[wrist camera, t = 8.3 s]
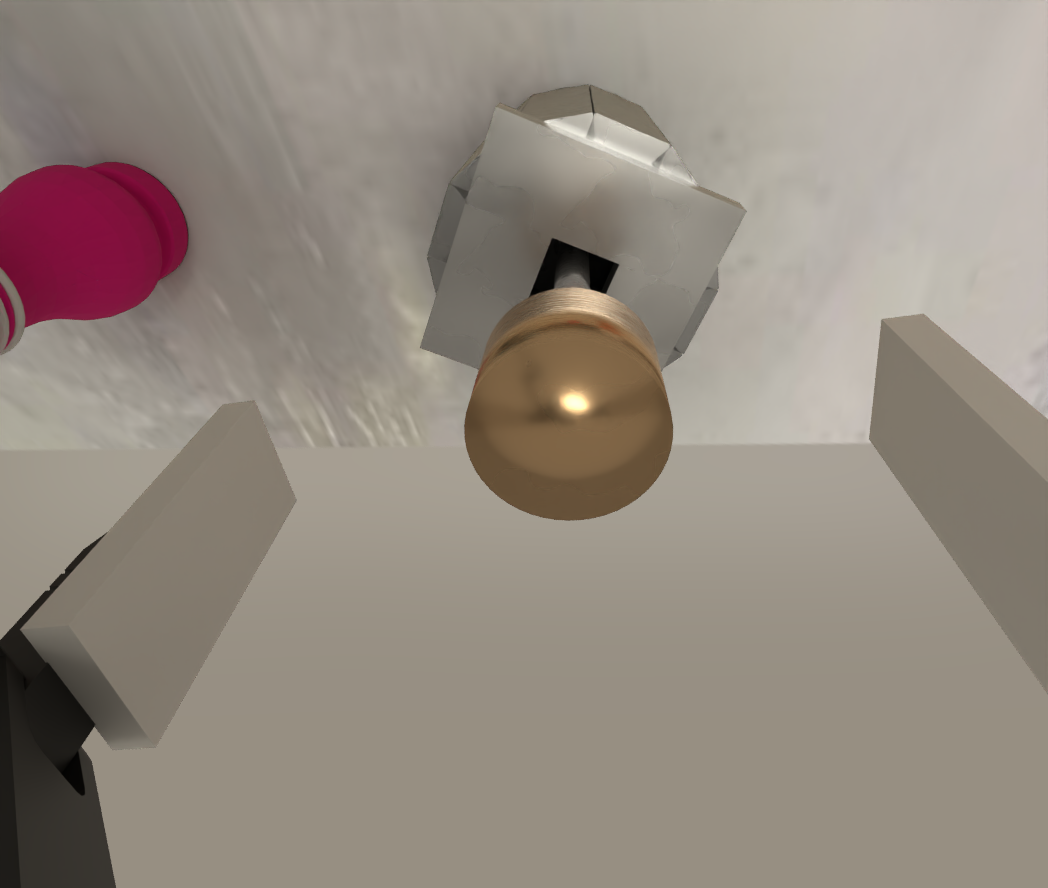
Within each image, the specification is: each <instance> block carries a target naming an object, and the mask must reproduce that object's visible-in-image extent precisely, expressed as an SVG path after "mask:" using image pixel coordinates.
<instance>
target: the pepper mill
mask: <svg viewBox="0 0 1048 888" xmlns="http://www.w3.org/2000/svg"><path fill="white" fill-rule="evenodd" d="M187 243H188V232H187V226H186V222H185V219H184V216H183V213H182V211H181V209H180V207H179V205H178V203H177V201H176V200H175V199H174V197H173V196H172V195H171V193H170V192H169V191H168V190H167V189H166V187H165V186H164V185H163V184H161V183H160V182H159V181H158V180H156V179H155V178H154V177H153V176H151V175H150V174H148V173H146V172H145V171H143V170H141V169H139V168H137V167H134V166H132V165H129V164H124V163H118V162H105V163H101V164H96V165H93V166H90V167H86V168H83V167H79V166H74V165H53V166H46V167H43V168H40V169H38V170H35V171H33V172H30V173H28V174H26V175H23V176H21V177H19V178H17V179H16V180H15V181H13V182H12V183H11V184H10V185H9V186H7V187H6V188H5V189H4V190H3V191H2V192H1V193H0V355H2V354H4V353H6V352H8V351H10V350H11V349H12V348H14V347H15V346H16V345H17V343H18V342H19V341H20V339H21V337H22V335H23V332H24V328H25V327H28V326H30V325H33V324H35V323H38V322H41V321H46V320H52V319H73V320H94V319H100V318H106V317H112V316H114V315H117V314H119V313H122V312H124V311H127V310H129V309H131V308H133V307H135V306H137V305H139V304H140V303H141V302H142V301H144V300H145V299H146V298H147V297H148V296H149V295H150V294H151V292H152V291H153V290H154V288H155V286H156V284H157V282H158V280H160V279H161V278H163V277H165V276H166V275H168V274H170V273H171V272H173V271H174V270H175V269H176V268H177V267H178V266H179V265H180V263H181V262H182V260H183V258H184V256H185V253H186V250H187Z"/></svg>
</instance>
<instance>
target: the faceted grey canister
mask: <svg viewBox="0 0 1048 888" xmlns="http://www.w3.org/2000/svg"><path fill="white" fill-rule="evenodd" d="M746 212H747V211H746V210H745V209H744V208H743V206H742V205H741V204H740V203H738V202H736V201H734V200H731V199H729V198H727V197H724V196H722V195H719V194H717V193H715V192H712V191H710V190H707V189H705V188H703V187H700V186H699V185H698V184H697V182H696V181H695V179H694V178H693V176H692V175H691V173H690V172H689V170H688V169H687V167H686V166H685V164H684V163H683V161H682V160H681V158H680V157H679V155H678V154H677V152H676V151H675V149H674V148H673V146H672V145H671V144H670V143H669V141H668V140H667V139H666V137H665V136H664V135H663V133H662V132H661V131H660V130H659V128H658V127H657V126H656V124H655V123H654V122H653V121H652V119H651V118H650V117H649V115H648V114H647V113H646V111H645V110H644V109H643V108H642V107H641V106H639V105H637V104H634V103H632V102H630V101H627V100H625V99H623V98H621V97H620V96H618V95H616V94H613V93H610V92H607V91H604V90H602V89H599V88H597V87H595V86H592V85H590V86H589V85H582V86H577V87H567V88H560V89H556V90H552V91H548V92H544V93H539V94H533V96H530V97H529V98H528V99H527V100H526V101H525V102H524V103H523V104H522V105H521V106H520V107H519V108H517V109H514V108H511V107H509V106H506V105H504V104H502V103H499V104H498V105H497V106H496V108H495V111H494V114H493V117H492V120H491V123H490V127H489V130H488V133H487V136H486V139H485V140H484V141H483V143H482V144H481V145H480V146H479V147H478V149H477V150H476V151H475V152H474V153H473V155H472V156H471V157H470V158H469V159H468V161H467V162H466V163H465V164H464V165H463V167H462V168H461V169H460V170H459V171H458V173H457V174H456V175H455V176H454V177H453V179H452V180H451V181H450V183H449V184H448V188H447V191H446V194H445V198H444V201H443V204H442V208H441V211H440V215H439V218H438V221H437V225H436V228H435V231H434V235H433V238H432V241H431V245H430V248H429V252H428V255H427V256H428V257H427V259H428V263H429V267H430V271H431V276H432V280H433V284H434V288H435V292H436V298H435V301H434V305H433V308H432V311H431V314H430V317H429V320H428V324H427V327H426V330H425V333H424V336H423V339H422V343H421V346H420V348H422V349H425V350H428V351H430V352H433V353H436V354H439V355H441V356H444V357H447V358H450V359H452V360H455V361H458V362H461V363H463V364H466V365H469V366H472V367H474V368H477V369H479V368H480V364H481V361H482V358H483V354H484V351H485V347H486V344H487V341H488V339H489V337H490V335H491V332H492V331H493V329H494V328H495V326H496V325H497V323H498V322H499V321H500V319H501V318H502V317H503V316H504V315H505V314H506V313H507V312H508V311H509V310H510V309H511V308H513V307H514V306H515V305H517V304H518V303H520V302H521V301H523V300H525V299H527V298H529V297H531V296H533V295H535V294H538V293H541V292H543V291H541V290H539V289H536V288H535V287H533V285H534V283H535V280H536V278H537V275H538V273H539V270H540V267H541V265H542V262H543V260H544V257H545V255H546V252H547V249H548V247H549V244H550V242H551V239H552V238H554V239H557V240H560V241H562V242H565V243H567V244H570V245H572V246H575V247H577V248H580V249H582V250H585V251H587V252H590V253H592V254H595V255H597V256H600V257H602V258H605V259H607V260H610V261H613V262H614V264H613V266H612V268H611V270H610V273H609V275H608V277H607V279H606V282H605V284H604V286H603V288H602V291H601V293H603V294H606V295H608V296H610V297H612V298H615V299H616V300H618V301H620V302H621V303H623V304H624V305H626V306H627V307H628V308H629V309H631V310H632V311H633V312H634V313H635V314H636V315H637V316H638V317H639V318H640V320H641V321H642V322H643V323H644V325H645V326H646V328H647V329H648V331H649V333H650V335H651V337H652V339H653V342H654V345H655V348H656V352H657V356H658V360H659V364H660V369H661V372H662V370H663V368H664V367H666V366H667V365H669V364H670V363H672V362H673V361H675V360H676V359H678V358H679V357H681V356H682V354H684V353H685V351H686V349H687V347H688V345H689V343H690V342H691V340H692V338H693V336H694V334H695V332H696V331H697V329H698V327H699V325H700V323H701V321H702V319H703V318H704V316H705V314H706V312H707V310H708V308H709V307H710V305H711V303H712V301H713V299H714V297H715V296H716V294H717V292H718V290H717V289H719V287H718V264H719V262H720V261H721V259H722V257H723V255H724V253H725V251H726V249H727V247H728V245H729V244H730V242H731V240H732V238H733V236H734V234H735V232H736V230H737V229H738V227H739V225H740V223H741V221H742V219H743V217H744V215H745V213H746Z"/></svg>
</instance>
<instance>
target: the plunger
mask: <svg viewBox="0 0 1048 888" xmlns="http://www.w3.org/2000/svg"><path fill="white" fill-rule="evenodd" d="M613 264H614V262H613V261H610V260H607V259H605V258H602V257H600V256H597V255H595V254H592V253H590V252H587V251H585V250H582V249H580V248H577V247H575V246H572V245H570V244H567V243H565V242H562V241H560V240H557V239H554V238H552V239H551V242H550V244H549V247H548V249H547V252H546V255H545V257H544V260H543V262H542V265H541V267H540V270H539V273H538V275H537V278H536V280H535V283H534V285H533V287H535V288H536V289H539V290H541V291H543V292H541V293H538V294H535V295H533V296H531V297H529V298H527V299H525V300H523V301H521V302H520V303H518V304H517V305H515V306H514V307H513V308H511V309H510V310H509V311H508V312H507V313H506V314H505V315H504V316H503V317H502V318H501V319H500V321H499V322H498V323H497V325H496V326H495V328H494V329H493V331H492V332H491V335H490V337H489V339H488V341H487V344H486V347H485V351H484V354H483V358H482V361H481V364H480V368H479V371H478V375H477V378H476V381H475V385H474V388H473V392H472V395H471V399H470V402H469V405H468V409H467V412H466V418H465V425H464V427H465V442H466V448H467V451H468V454H469V457H470V460H471V462H472V464H473V466H474V468H475V470H476V472H477V473H478V475H479V476H480V478H481V479H482V481H484V482H485V484H486V485H487V486H488V487H489V489H490V490H492V491H493V492H494V493H495V494H496V495H497V496H499V497H500V498H501V499H503V500H504V501H506V502H507V503H508V504H510V505H512V506H514V507H516V508H518V509H520V510H522V511H525V512H527V513H529V514H532V515H536V516H539V517H543V518H549V519H554V520H584V519H590V518H596V517H600V516H603V515H607V514H609V513H612V512H615V511H617V510H619V509H621V508H623V507H625V506H627V505H629V504H630V503H632V502H633V501H635V500H636V499H638V498H639V497H640V496H641V495H642V494H643V493H645V492H646V491H647V490H648V489H649V488H650V487H651V486H652V484H653V483H654V482H655V481H656V479H657V478H658V477H659V475H660V474H661V472H662V470H663V468H664V466H665V464H666V462H667V460H668V457H669V454H670V451H671V446H672V440H673V423H672V416H671V411H670V407H669V403H668V398H667V394H666V390H665V386H664V381H663V377H662V373H661V369H660V364H659V360H658V356H657V352H656V348H655V345H654V342H653V339H652V337H651V335H650V333H649V331H648V329H647V328H646V326H645V325H644V323H643V322H642V321H641V320H640V318H639V317H638V316H637V315H636V314H635V313H634V312H633V311H632V310H631V309H629V308H628V307H627V306H626V305H624V304H623V303H621V302H620V301H618V300H616V299H615V298H612V297H610V296H608V295H606V294H603V293H601V291H602V288H603V286H604V284H605V282H606V279H607V277H608V275H609V273H610V270H611V268H612V266H613Z"/></svg>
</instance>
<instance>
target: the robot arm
mask: <svg viewBox="0 0 1048 888" xmlns="http://www.w3.org/2000/svg"><path fill="white" fill-rule="evenodd" d="M869 440H870V441H871V443H872V444H873V445H874V447H875V448H876V450H877V451H878V452H879V454H880V455H881V457H882V458H883V460H884V461H885V462H886V464H887V465H888V467H889V468H890V470H891V471H892V472H893V474H894V475H895V477H896V478H897V480H898V481H899V482H900V484H901V485H902V487H903V488H904V490H905V491H906V492H907V494H908V495H909V497H910V498H911V500H912V501H913V502H914V504H915V505H916V507H917V508H918V510H919V511H920V512H921V514H922V515H923V517H924V518H925V520H926V521H927V522H928V524H929V525H930V527H931V528H932V530H933V531H934V532H935V534H936V535H937V537H938V538H939V540H940V541H941V542H942V544H943V545H944V547H945V548H946V550H947V551H948V552H949V554H950V555H951V557H952V558H953V560H954V561H955V562H956V564H957V565H958V567H959V568H960V569H961V571H962V572H963V574H964V575H965V576H966V578H967V580H968V581H969V582H970V584H971V585H972V586H973V588H974V590H975V591H976V592H977V594H978V595H979V597H980V598H981V599H982V601H983V602H984V604H985V605H986V607H987V608H988V609H989V611H990V612H991V614H992V615H993V617H994V618H995V620H996V621H997V622H998V624H999V625H1000V626H1001V628H1002V630H1003V631H1004V632H1005V634H1006V635H1007V636H1008V638H1009V639H1010V641H1011V642H1012V644H1013V645H1014V647H1015V648H1016V650H1017V651H1018V652H1019V654H1020V655H1021V657H1022V658H1023V659H1024V661H1025V662H1026V664H1027V665H1028V667H1029V668H1030V670H1031V671H1032V672H1033V674H1034V675H1035V677H1036V678H1037V680H1038V681H1039V682H1040V684H1041V685H1042V687H1043V688H1044V690H1045V691H1046V692H1047V694H1048V419H1047V418H1046V417H1044V416H1043V415H1042V414H1041V413H1040V412H1038V411H1037V410H1036V409H1035V408H1034V407H1033V406H1031V405H1030V404H1029V403H1028V402H1027V401H1026V400H1024V399H1023V398H1022V397H1021V396H1020V395H1018V394H1017V393H1016V392H1015V391H1014V390H1013V389H1011V388H1010V387H1009V386H1008V385H1007V384H1006V383H1004V382H1003V381H1002V380H1001V379H1000V378H998V377H997V376H996V375H995V374H994V373H993V372H991V371H990V370H989V369H988V368H987V367H985V366H984V365H983V364H982V363H981V362H980V361H978V360H977V359H976V358H975V357H974V356H973V355H971V354H970V353H969V352H968V351H967V350H965V349H964V348H963V347H962V346H961V345H960V344H958V343H957V342H956V341H955V340H954V339H953V338H951V337H950V336H949V335H948V334H947V333H945V332H944V331H943V330H942V329H941V328H940V327H938V326H937V325H936V324H935V323H934V322H932V321H931V320H930V319H929V318H928V317H927V316H925V315H924V314H918V315H911V316H903V317H895V318H888V319H882V320H881V330H880V340H879V349H878V359H877V368H876V378H875V388H874V397H873V407H872V417H871V426H870V436H869ZM295 502H296V498H295V495H294V493H293V491H292V488H291V486H290V483H289V481H288V479H287V476H286V474H285V471H284V469H283V467H282V464H281V462H280V460H279V457H278V455H277V452H276V450H275V448H274V445H273V443H272V441H271V438H270V436H269V433H268V431H267V429H266V426H265V424H264V421H263V419H262V417H261V414H260V412H259V410H258V407H257V405H256V402H255V401H247V402H239V403H232V404H224V405H222V406H221V407H220V408H219V409H218V410H217V412H216V413H215V414H214V415H213V416H212V417H211V418H210V419H209V420H208V422H207V423H206V424H205V425H204V426H203V427H202V428H201V429H200V430H199V432H198V433H197V434H196V435H195V436H194V437H193V438H192V439H191V440H190V442H189V443H188V444H187V445H186V446H185V447H184V448H183V449H182V450H181V452H180V453H179V454H178V455H177V456H176V457H175V458H174V459H173V461H172V462H171V463H170V464H169V465H168V466H167V467H166V468H165V469H164V470H163V471H162V473H161V474H160V475H159V476H158V477H157V478H156V479H155V480H154V481H153V483H152V484H151V485H150V486H149V487H148V488H147V489H146V490H145V491H144V493H143V494H142V495H141V496H140V497H139V498H138V499H137V500H136V501H135V503H134V504H133V505H132V506H131V507H130V508H129V509H128V510H127V512H126V513H125V514H124V515H123V516H122V517H121V518H120V519H119V520H118V522H117V523H116V524H115V525H114V526H113V527H112V528H111V529H110V530H109V531H108V532H107V533H106V534H104V535H103V536H102V537H100V538H99V539H97V540H96V541H95V542H93V543H92V544H90V545H89V546H88V547H86V548H85V549H83V551H82V552H81V553H80V554H79V555H78V556H77V557H76V558H75V559H74V561H72V563H71V564H70V565H69V566H68V567H67V568H66V569H65V574H61V575H60V576H59V577H58V578H57V579H56V580H55V581H54V582H53V583H52V584H51V586H50V590H49V591H45V592H44V593H43V594H42V595H41V596H40V598H39V599H38V600H37V601H36V602H35V603H34V604H33V605H32V606H31V607H30V608H29V610H28V611H27V612H26V613H25V614H24V615H23V616H22V617H21V618H20V619H19V620H18V621H17V623H16V624H15V625H14V626H13V627H12V628H11V629H10V630H9V631H8V632H7V634H6V635H5V636H4V637H3V638H2V639H1V640H0V888H116V885H115V880H114V876H113V870H112V864H111V859H110V854H109V849H108V844H107V838H106V833H105V828H104V823H103V818H102V812H101V807H100V802H99V797H98V792H97V786H96V781H95V776H94V771H93V765H92V761H91V759H90V758H89V756H88V755H87V753H86V752H85V751H84V749H83V748H82V747H81V746H82V744H83V742H84V741H85V740H86V738H87V737H88V735H89V734H90V732H91V731H92V729H93V728H94V727H95V728H96V729H97V730H98V732H99V733H100V734H101V736H102V737H103V738H104V740H105V741H106V742H107V744H108V745H109V746H110V747H111V749H112V750H122V749H140V748H155V747H156V746H157V744H158V743H159V741H160V739H161V737H162V736H163V734H164V732H165V730H166V729H167V727H168V725H169V723H170V722H171V720H172V718H173V716H174V715H175V713H176V711H177V709H178V708H179V706H180V704H181V702H182V701H183V699H184V697H185V695H186V694H187V692H188V690H189V688H190V686H191V685H192V683H193V681H194V679H195V678H196V676H197V674H198V672H199V671H200V669H201V667H202V665H203V664H204V662H205V660H206V659H207V657H208V655H209V653H210V652H211V650H212V648H213V646H214V644H215V643H216V641H217V639H218V637H219V636H220V634H221V632H222V630H223V628H224V627H225V625H226V623H227V622H228V620H229V618H230V616H231V615H232V613H233V611H234V609H235V608H236V606H237V604H238V602H239V600H240V599H241V597H242V595H243V593H244V592H245V590H246V588H247V587H248V585H249V583H250V581H251V580H252V578H253V576H254V574H255V572H256V571H257V569H258V567H259V565H260V564H261V562H262V560H263V559H264V557H265V555H266V553H267V551H268V550H269V548H270V546H271V544H272V543H273V541H274V539H275V537H276V536H277V534H278V532H279V530H280V529H281V527H282V525H283V523H284V522H285V520H286V518H287V516H288V515H289V513H290V511H291V509H292V508H293V506H294V504H295Z"/></svg>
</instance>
